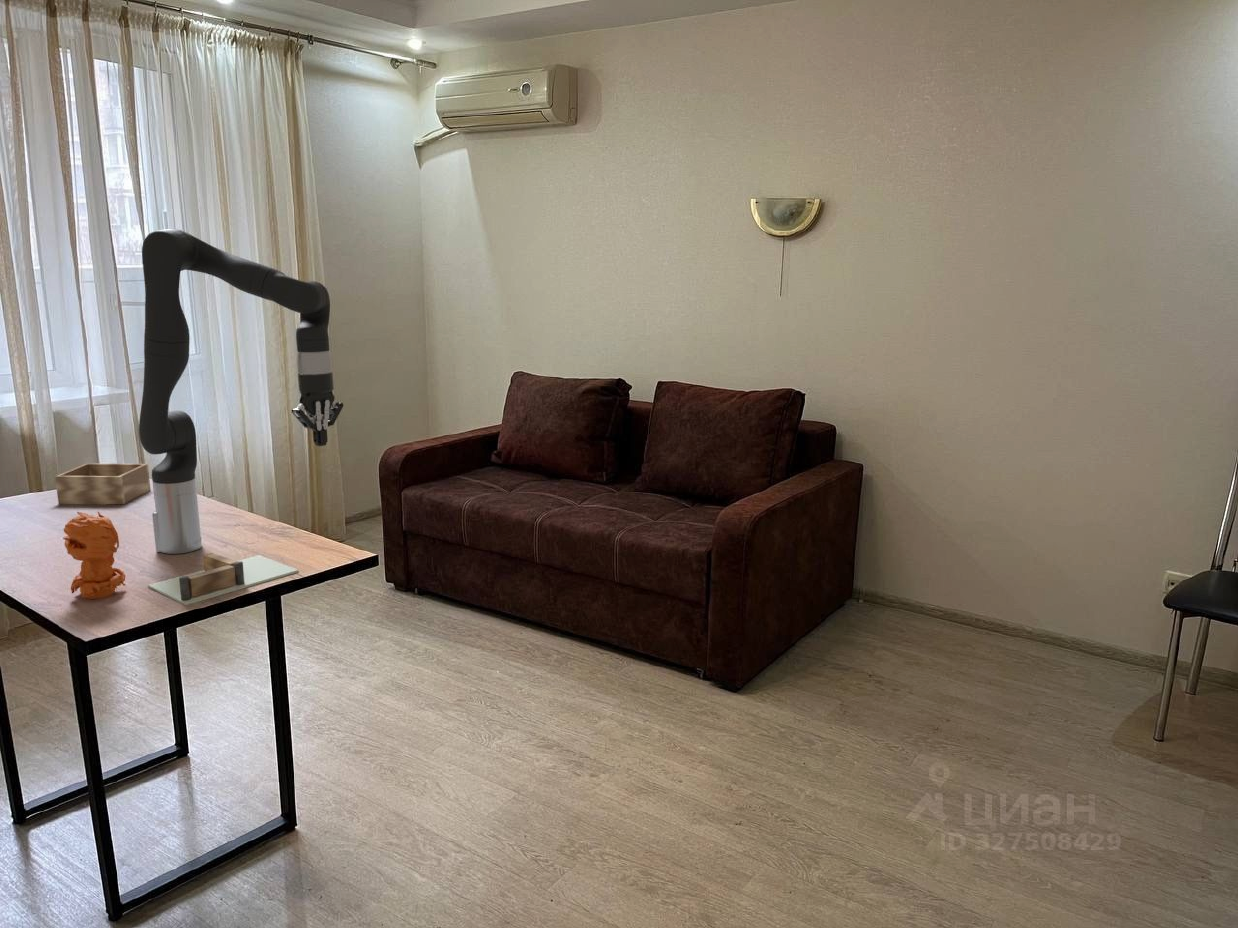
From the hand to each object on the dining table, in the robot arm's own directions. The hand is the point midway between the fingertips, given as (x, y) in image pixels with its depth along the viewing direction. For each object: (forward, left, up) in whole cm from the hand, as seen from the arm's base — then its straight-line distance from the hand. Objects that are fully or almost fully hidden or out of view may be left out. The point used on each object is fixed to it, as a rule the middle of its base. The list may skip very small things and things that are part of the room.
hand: (320, 445), depth 214 cm
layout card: (-17, -17, -27) cm, 36 cm away
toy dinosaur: (-40, -26, -27) cm, 55 cm away
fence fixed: (-16, -26, -27) cm, 40 cm away
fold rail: (-18, -17, -26) cm, 36 cm away
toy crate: (-78, +50, -27) cm, 97 cm away
